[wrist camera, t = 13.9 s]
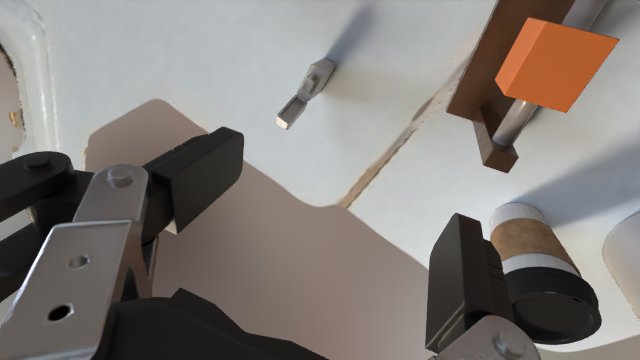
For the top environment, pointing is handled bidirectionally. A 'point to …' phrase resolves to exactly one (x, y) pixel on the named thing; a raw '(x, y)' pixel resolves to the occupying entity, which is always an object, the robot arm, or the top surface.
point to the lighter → (305, 92)
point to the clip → (552, 63)
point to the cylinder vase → (625, 259)
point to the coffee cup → (542, 278)
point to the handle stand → (486, 61)
